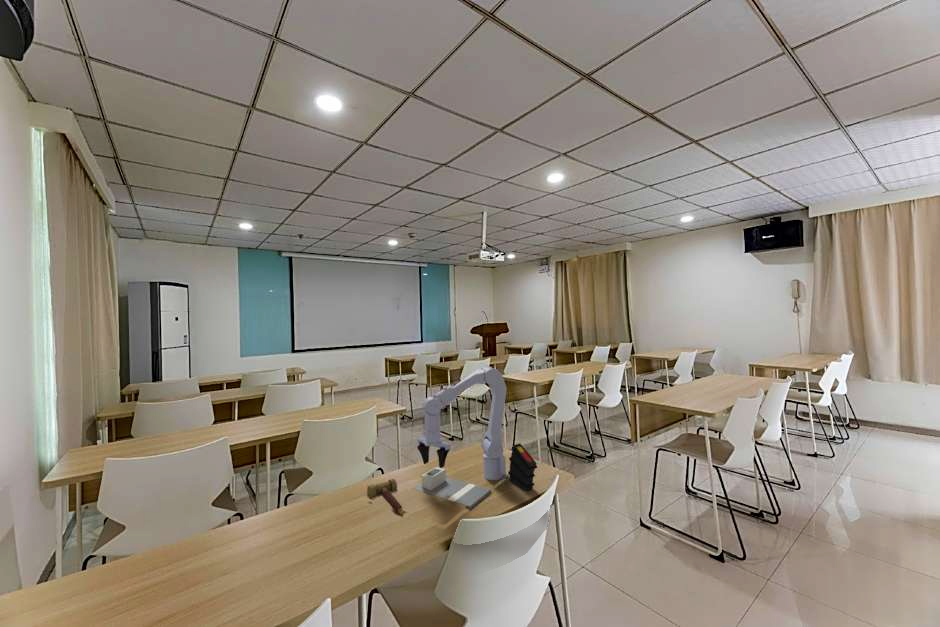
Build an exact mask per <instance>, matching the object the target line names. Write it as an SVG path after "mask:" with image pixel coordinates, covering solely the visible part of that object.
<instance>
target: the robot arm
mask: <svg viewBox="0 0 940 627" xmlns="http://www.w3.org/2000/svg"><path fill="white" fill-rule="evenodd" d="M503 377H504V375H503V374H502V373H501V371H499V370H498V369H497V368H494V367H491V366H489V365H484V366H481V368H478V369H476V370H475V371H473V372H472V373H471V374H469V375H468V376H467V377H465V378H464V379H462V380H461V381H460V382H458V383H456V384H454V386H452V385H448V386H446V385H445V386H443V389H442V390H440V391H439V392H437V393H433V394H432V396H428V397H426V398H425V400H424V402H423V404H422V407H423V409H424V416H425V417H424V429H425V430H424V434H425V437H423V436H421V437H418V438H416V443H417V444H418V445H417V446H416V447H417V448H416V449H417V450H418V451H419V453H420V455H421V458H422V462H423V465H426V464H428V463H429V460H430V448H431V447H434V448H435V447H436V448H438V449H437V450H436V454H437V457H438V467H439V468H444V467H445V465H446V460H447V457H448V454H449V451H450V449H451V442H450V443H449V442H446V441H444V440H442V439H441V416H440V412H441V410H442V408H444V407H446V406H447V405H449V404H451V403H452V402H454V401H455V400H457V398H458V395H459V394H460V393H463V392H464V391H466V390H467V389H469V388H471V387H473V386H474V385H477V384H478V385H479V384H480V385H485V384H487V385H488V386H489V387H490V389H491V391H492V397H491V405H490V413H489V418H488V425H487V430H486V431H485V432H484V437H483V439H481V444H480V445H481V448H482V450H484V451H483V454H482V457H483V459H482V460H483V461H482V462H483V477H484V479H486V480H488V481H496V482H495V483H494V484H495V485H498V484H499V483H500V482H502V481H503V480H504V479H505V478H507V477H508V476H509V474H508V473H507V463H506V462H507V461H506V457H505V455H504V454H503V453H504V448H503V438H502V433H501V432H502V427H503V426H502V425H503V419H504V418H503V417H504V410H505V405H506V404H505V403H506V397H507V390H508V389H507V388H508V387H507V385H506V383H505V379H504V378H503Z"/></svg>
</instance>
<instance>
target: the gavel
mask: <svg viewBox="0 0 940 627" xmlns="http://www.w3.org/2000/svg"><path fill="white" fill-rule="evenodd" d="M366 489H367V490H366V491H367V494H368V496H369V499H372V498H373V497H375V496H377V495H381V494H382V496H383V498H384V499H385V500H386V501H387V502H388V504H389V505H390V507H392V509H393V511H394V512H395V513H397V514H399V515H400V516H401V515H404V510H403V507H402V505H401V504H400V503H399V501H398V500H397V499H396V498H395V496H394V494H392V493H391V491H396V490H397V489H398V484H397V481H396V479H395V478H391V479H388V481H384V482H383V481H382V482H380V483H375V484H374V483H373V484H368V485H367V488H366Z"/></svg>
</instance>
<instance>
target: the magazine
mask: <svg viewBox="0 0 940 627" xmlns="http://www.w3.org/2000/svg"><path fill="white" fill-rule="evenodd" d="M511 450H512V451H511V455H510V457H508V458H509V459H508V460H509V471H508V472H507V474H508V476H509V481H510V482H511V483H512V484H514V485H516V486H518V487H519V488H521V489H523V490H524V491H526V492H529V491H531V490H533V489H534V486H535V483H534V477H536V475H535V470H536V469H537V468H538V466H537V462H536V461H535V460H534V458H533V457H532V456H531V454H530V453H529V452H528V451H527V450H526V448H524V445H522V444H521V443H519V442H518V443H515V444H514V445H513V446H511Z"/></svg>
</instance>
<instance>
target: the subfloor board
mask: <svg viewBox="0 0 940 627" xmlns="http://www.w3.org/2000/svg"><path fill="white" fill-rule="evenodd" d="M411 489H412V490H416V491H419V492H421V493H425V494H428V495H431V496H435V497H439V498H440V499H444V500H448V501H452V502H453V503H457V504H461V505H464V506H465V507H464V508H465V509H467V508H468V509H467V510H471V509H472V508H473V507H475V506H476V505H477V504H478V503H480V502H481V501H482V500H483V499H485V498H486V497H487V496H488V495H489V494H490V493H492V489H491V488H487V487H483V486H479V485H476V484H472V483H468V482H465V481H462V480H458V479H454V478H450V477H447V476H446V481H445V482H443V483H442V484H440V485H438V486H437V487H435V488H434V489H432V490H429V489H426V488H422V482H420V483H418V484H417V485H415V486H414V487H412V488H411Z"/></svg>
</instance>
